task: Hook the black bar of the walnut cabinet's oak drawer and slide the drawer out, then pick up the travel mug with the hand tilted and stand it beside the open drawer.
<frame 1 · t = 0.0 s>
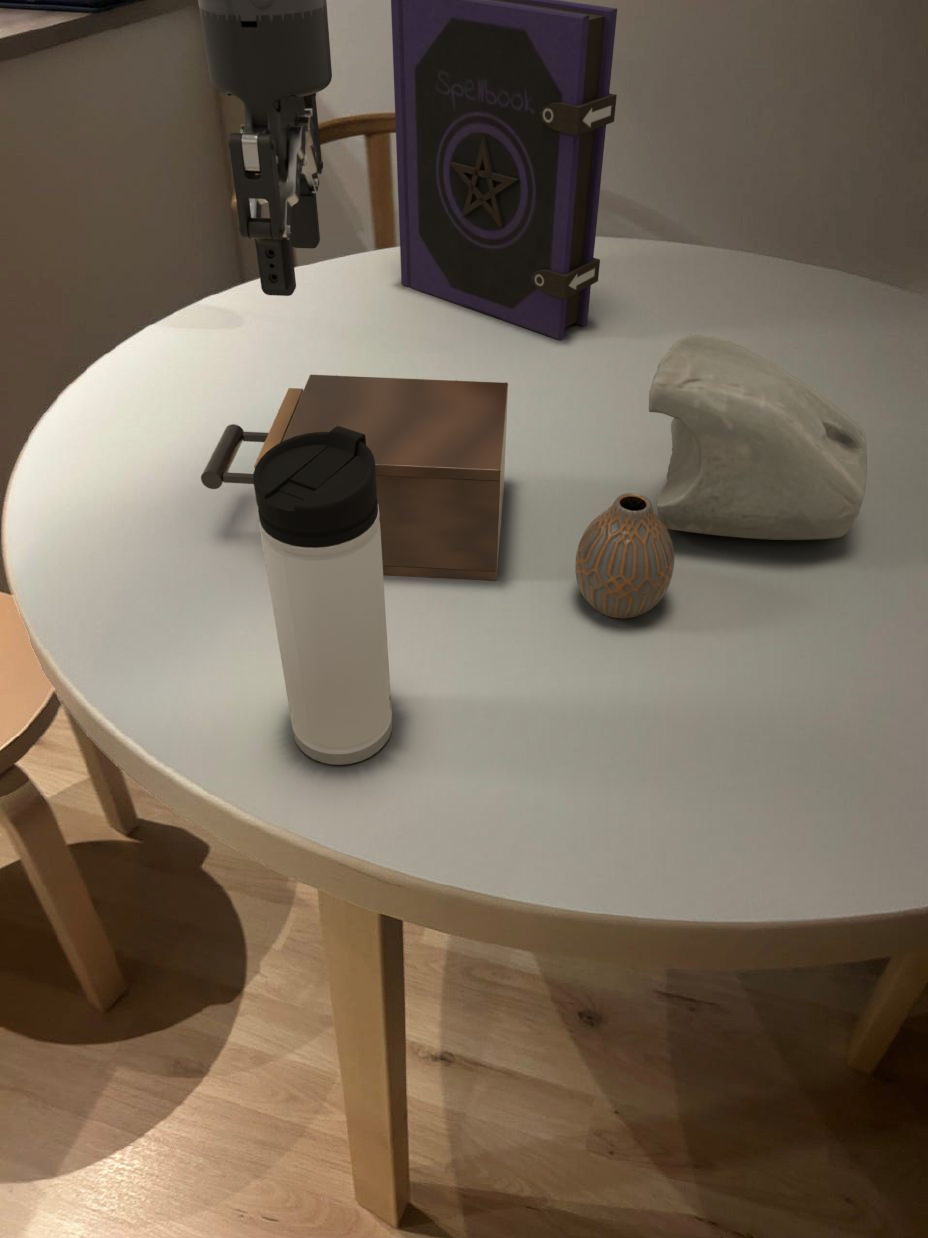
hand: (292, 268, 67), 19 cm above the table, tool pointing down, fingers open, 8 cm apart
vase: (618, 603, 71), on the table
cabinet: (402, 526, 77), on the table
decorative stone: (734, 523, 78), on the table
travel mug: (345, 729, 61), on the table
drawer: (339, 471, 74), point 5 cm above the table, slide at 0.5 cm
book: (492, 306, 110), on the table
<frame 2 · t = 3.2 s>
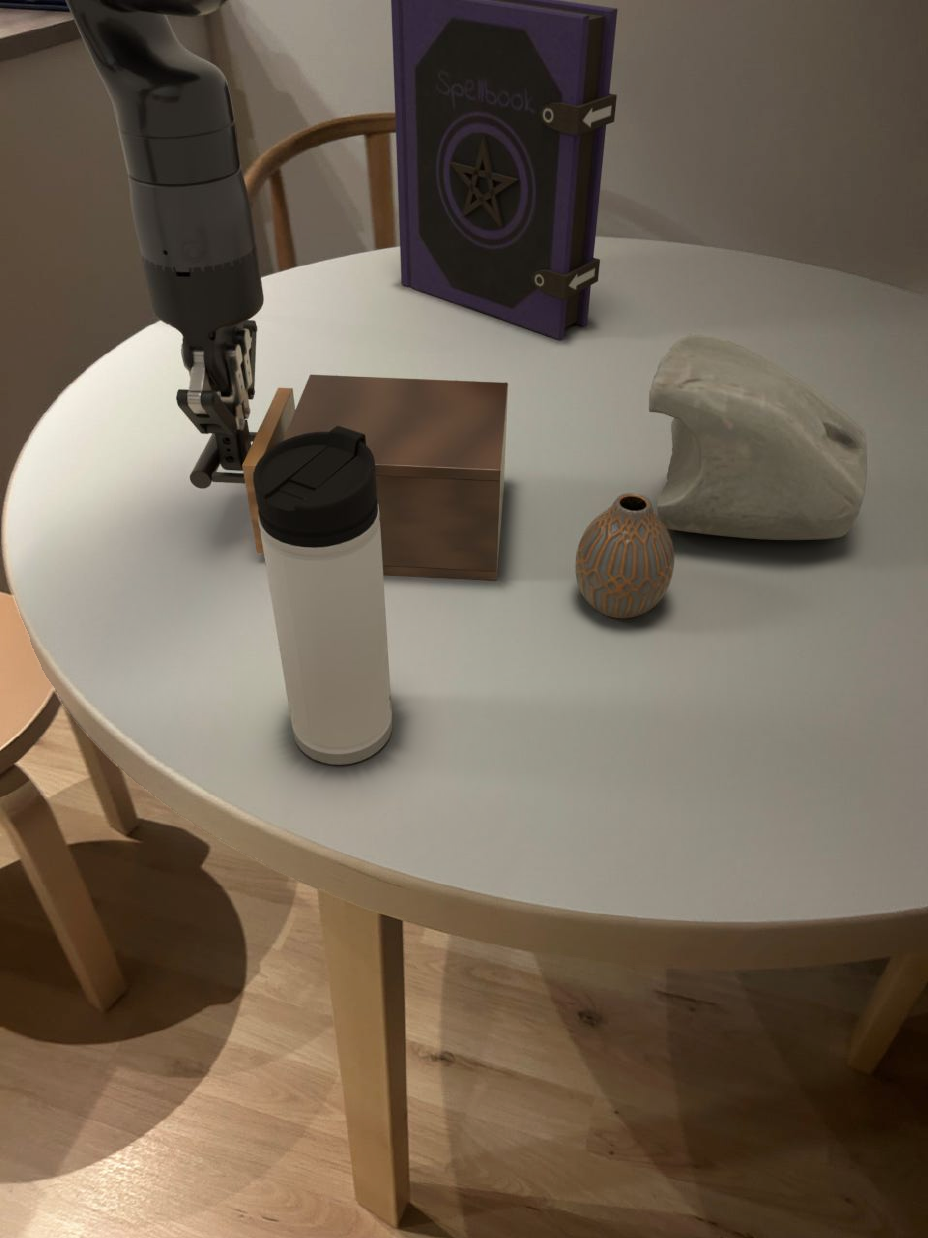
hand: (237, 465, 75), 5 cm above the table, tool pointing down, fingers closed
drawer: (328, 471, 75), point 5 cm above the table, slide at 1.4 cm, touching gripper
everything else where it was.
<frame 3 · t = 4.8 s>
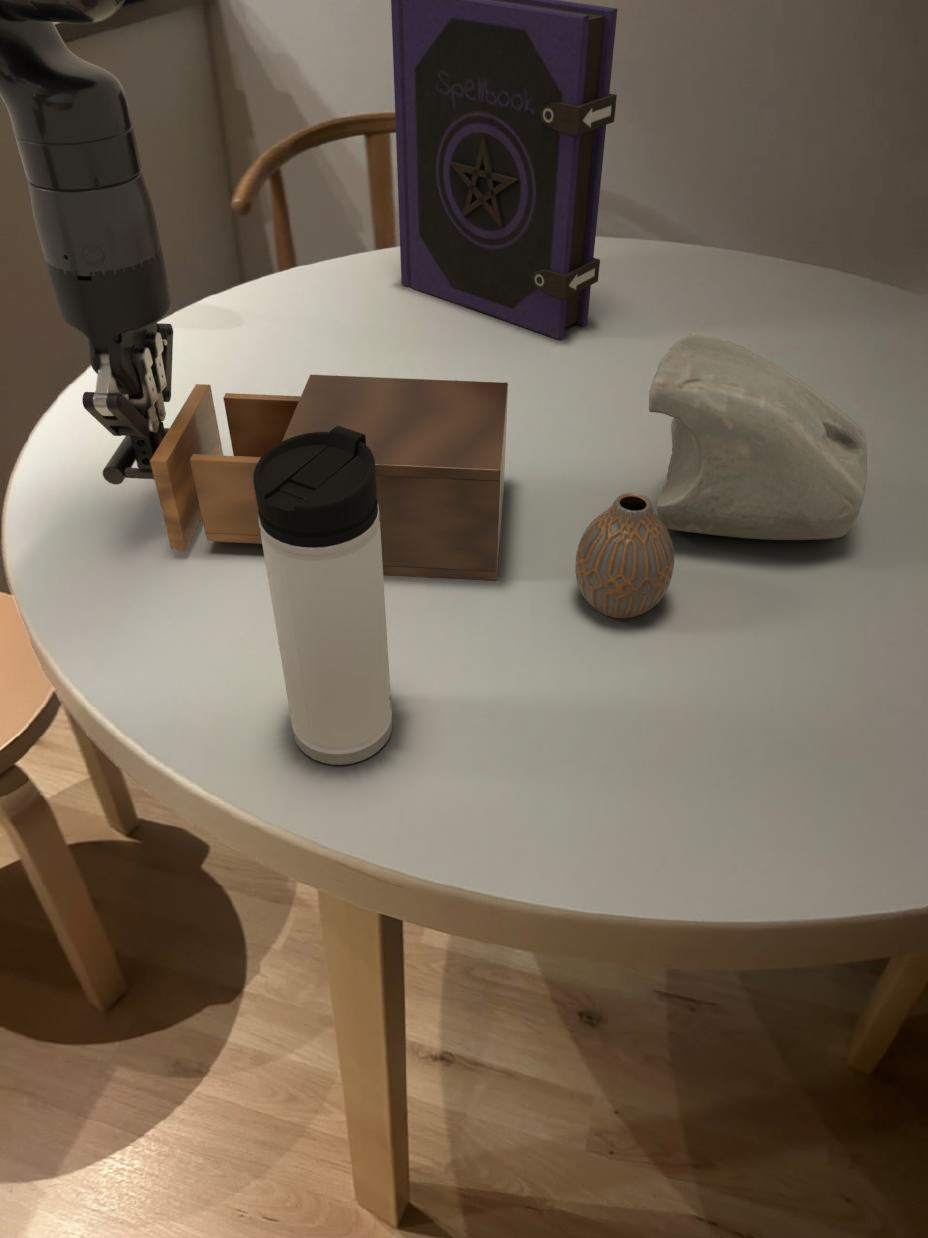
hand: (155, 467, 75), 5 cm above the table, tool pointing down, fingers closed
drawer: (244, 467, 75), point 5 cm above the table, slide at 8.0 cm, touching gripper
everything else where it was.
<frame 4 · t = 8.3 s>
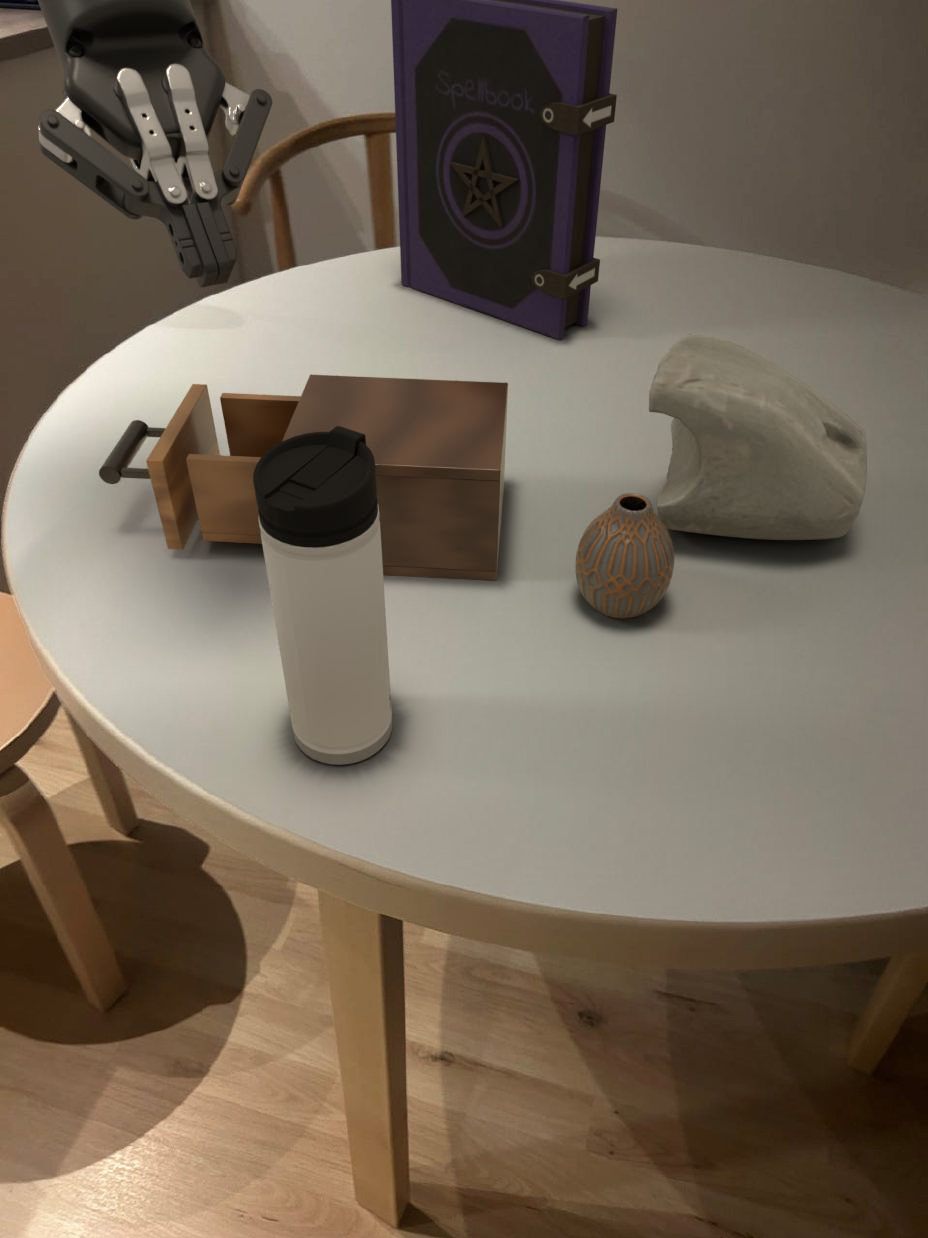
hand: (215, 279, 51), 25 cm above the table, tool tilted 45°, fingers closed
drawer: (240, 467, 75), point 5 cm above the table, slide at 8.3 cm
everything else where it was.
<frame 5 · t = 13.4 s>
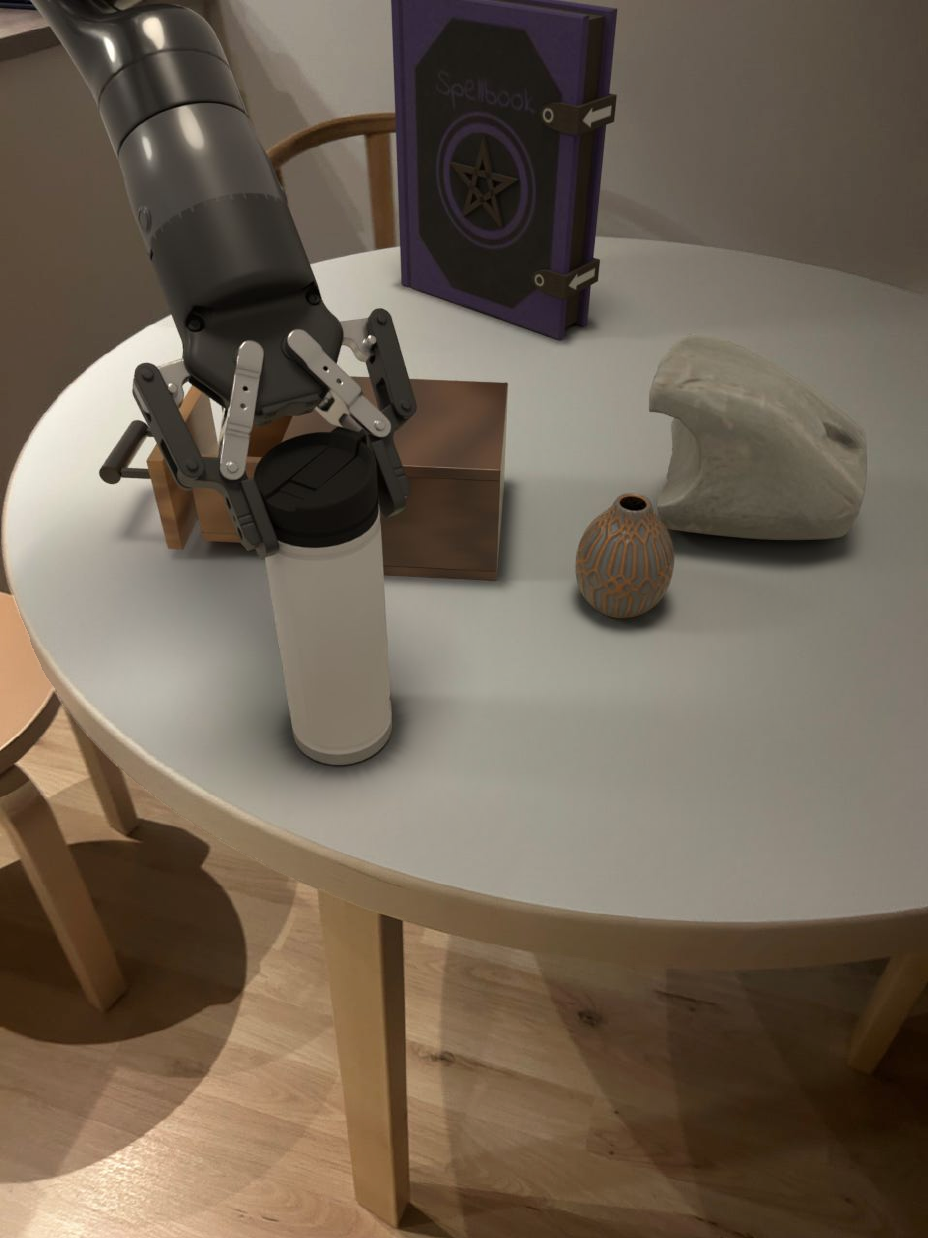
hand: (333, 532, 49), 16 cm above the table, tool tilted 45°, fingers closed on travel mug, 6 cm apart
travel mug: (344, 729, 61), on the table, touching gripper
everything else where it was.
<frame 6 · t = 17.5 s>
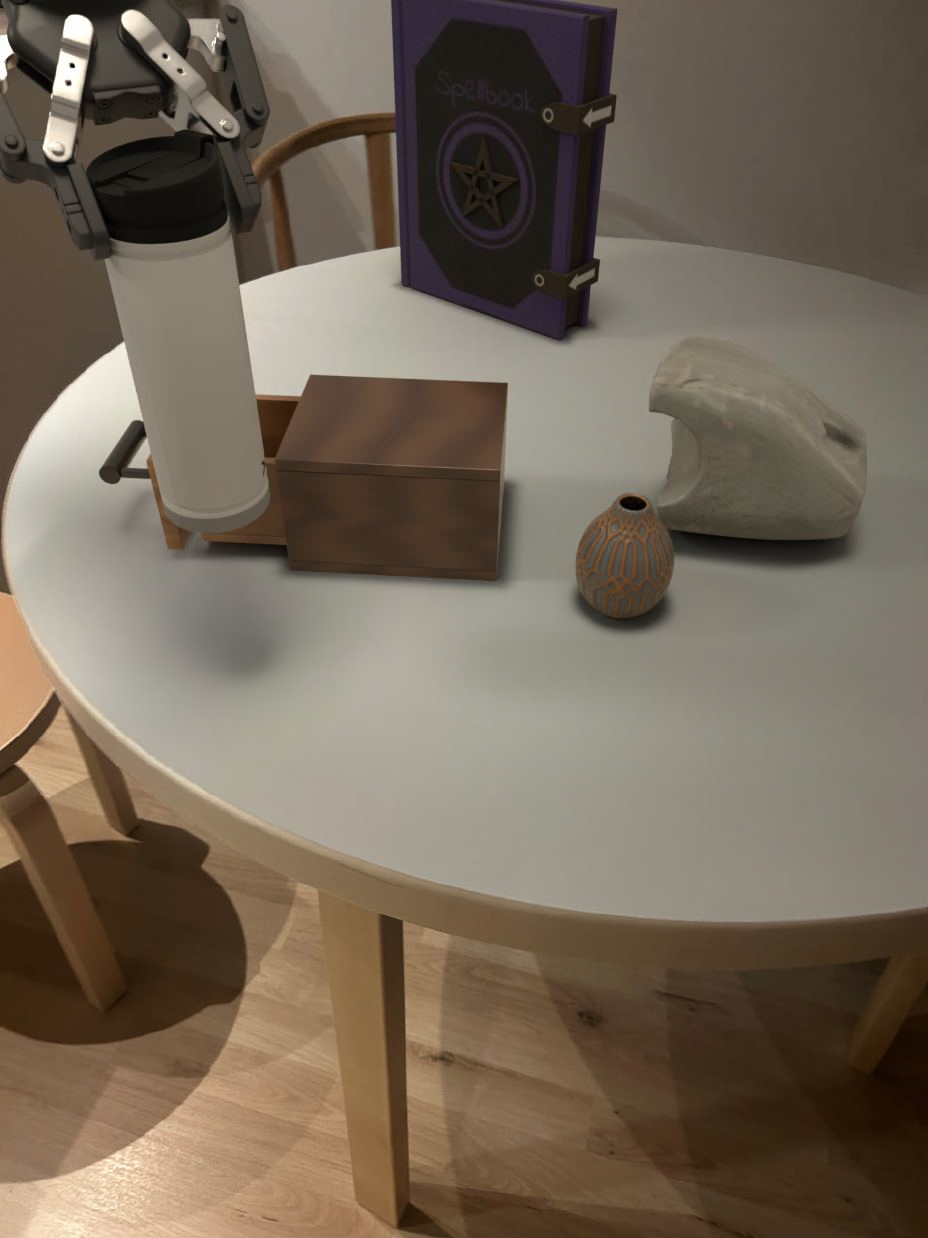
hand: (176, 237, 46), 29 cm above the table, tool tilted 45°, fingers closed on travel mug, 6 cm apart
travel mug: (220, 505, 58), point 12 cm above the table, touching gripper
everything else where it was.
when the fingers open (16 cm above the table, at t = 21.8 s): travel mug stays where it is, on the table.
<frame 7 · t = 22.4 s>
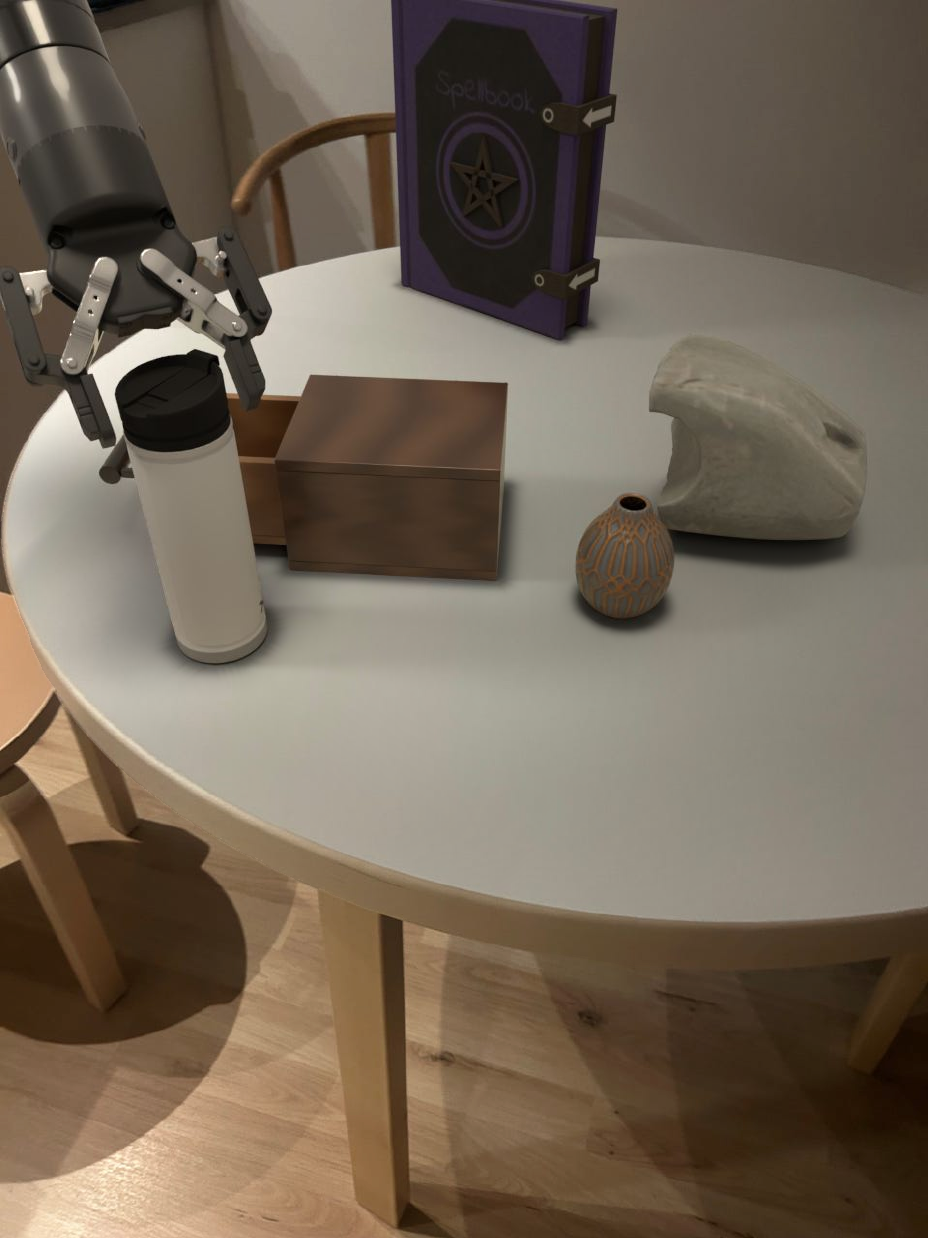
hand: (183, 424, 55), 17 cm above the table, tool tilted 45°, fingers open, 8 cm apart
travel mug: (224, 635, 68), on the table
everything else where it was.
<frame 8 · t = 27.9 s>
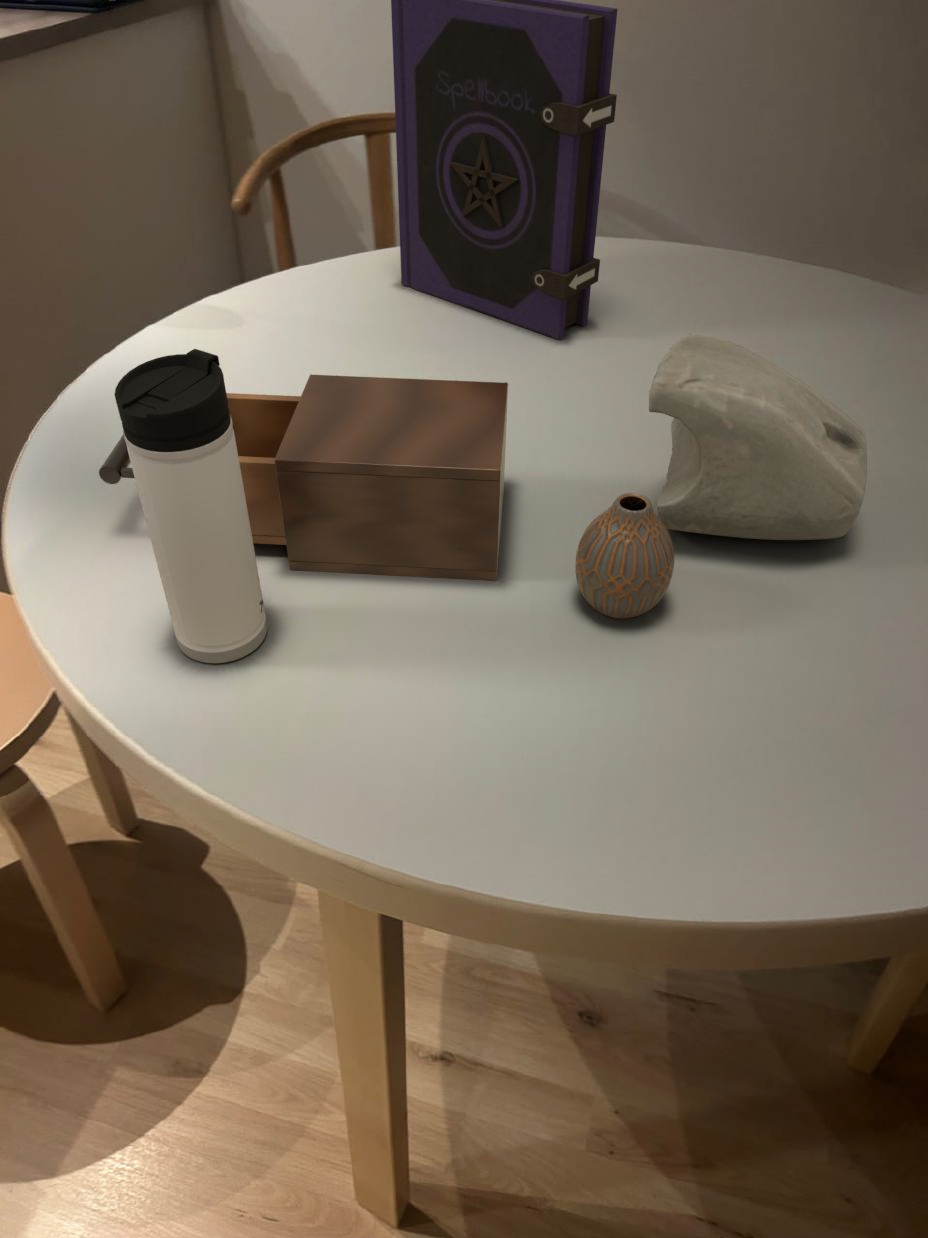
nothing on the table moved.
at the end: drawer slide at 8.3 cm; travel mug inside the target area (0.1 cm from its centre), on the table; travel mug tilted 0° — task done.
